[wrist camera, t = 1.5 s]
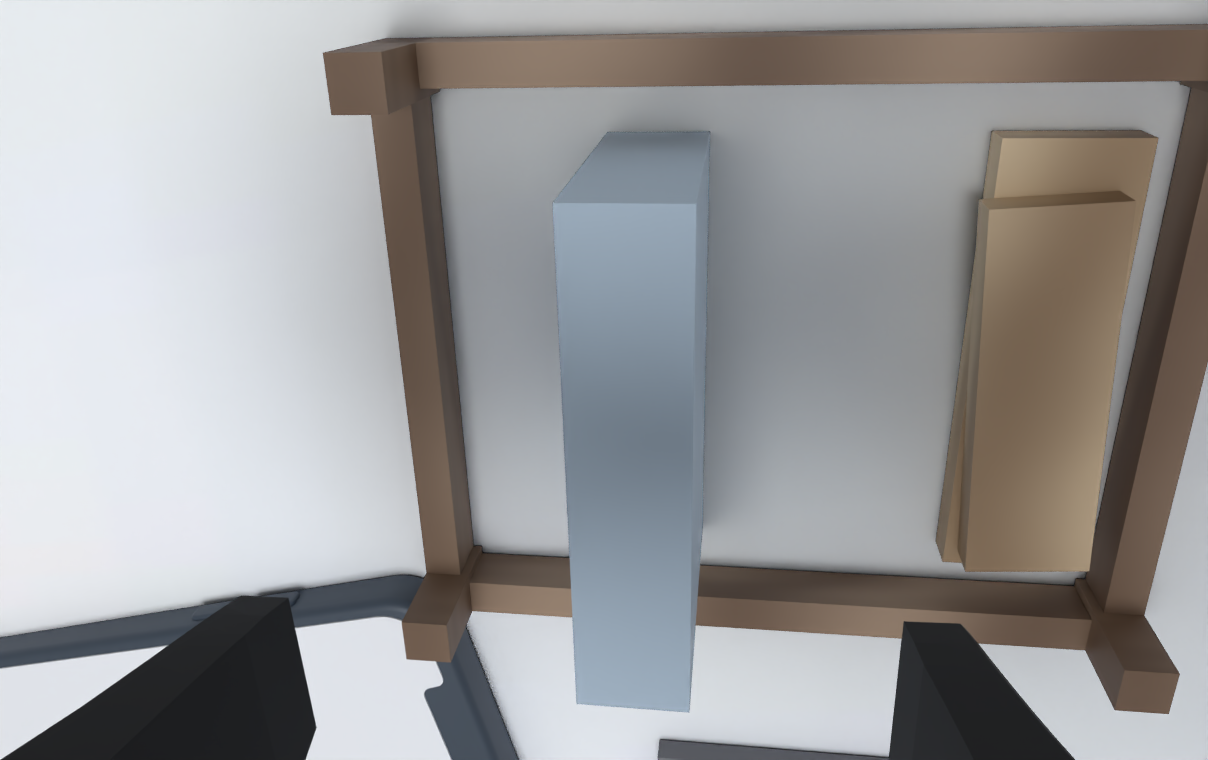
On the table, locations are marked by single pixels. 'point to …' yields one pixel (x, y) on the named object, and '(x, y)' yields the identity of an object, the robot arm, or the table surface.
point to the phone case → (331, 664)
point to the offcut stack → (1041, 347)
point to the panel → (634, 410)
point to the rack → (785, 597)
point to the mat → (741, 753)
